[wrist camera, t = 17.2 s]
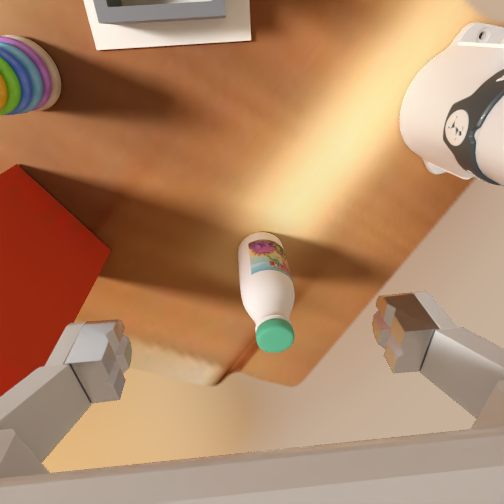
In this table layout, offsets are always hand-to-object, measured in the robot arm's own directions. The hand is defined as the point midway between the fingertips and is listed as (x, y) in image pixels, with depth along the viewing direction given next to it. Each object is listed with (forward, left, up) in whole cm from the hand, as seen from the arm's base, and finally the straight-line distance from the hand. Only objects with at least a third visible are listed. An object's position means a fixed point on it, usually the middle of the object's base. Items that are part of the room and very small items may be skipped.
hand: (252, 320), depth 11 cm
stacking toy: (+24, -5, -39) cm, 46 cm away
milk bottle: (-3, +23, -39) cm, 46 cm away
